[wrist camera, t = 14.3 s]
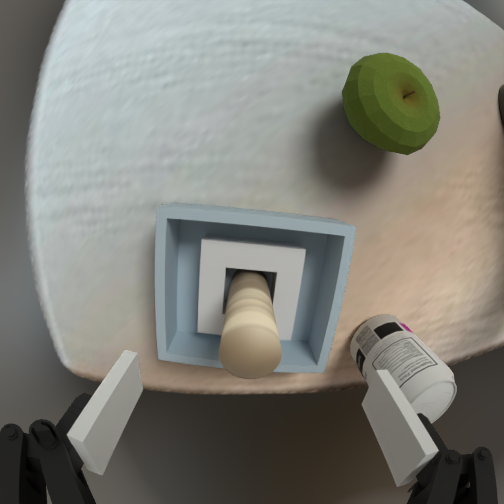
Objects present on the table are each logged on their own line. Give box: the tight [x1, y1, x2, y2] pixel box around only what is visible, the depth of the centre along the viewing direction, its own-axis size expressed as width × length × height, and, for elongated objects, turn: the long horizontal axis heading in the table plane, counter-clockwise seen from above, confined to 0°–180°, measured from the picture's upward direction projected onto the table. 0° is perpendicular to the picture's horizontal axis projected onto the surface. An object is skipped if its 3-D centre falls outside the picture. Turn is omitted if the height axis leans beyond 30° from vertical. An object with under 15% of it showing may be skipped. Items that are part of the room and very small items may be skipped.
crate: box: [155, 203, 356, 373], centre depth 28 cm, size 16×18×6 cm
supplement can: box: [350, 314, 456, 424], centre depth 26 cm, size 8×8×15 cm
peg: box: [219, 269, 282, 379], centre depth 23 cm, size 4×4×14 cm
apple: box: [342, 53, 440, 155], centre depth 22 cm, size 11×10×10 cm
